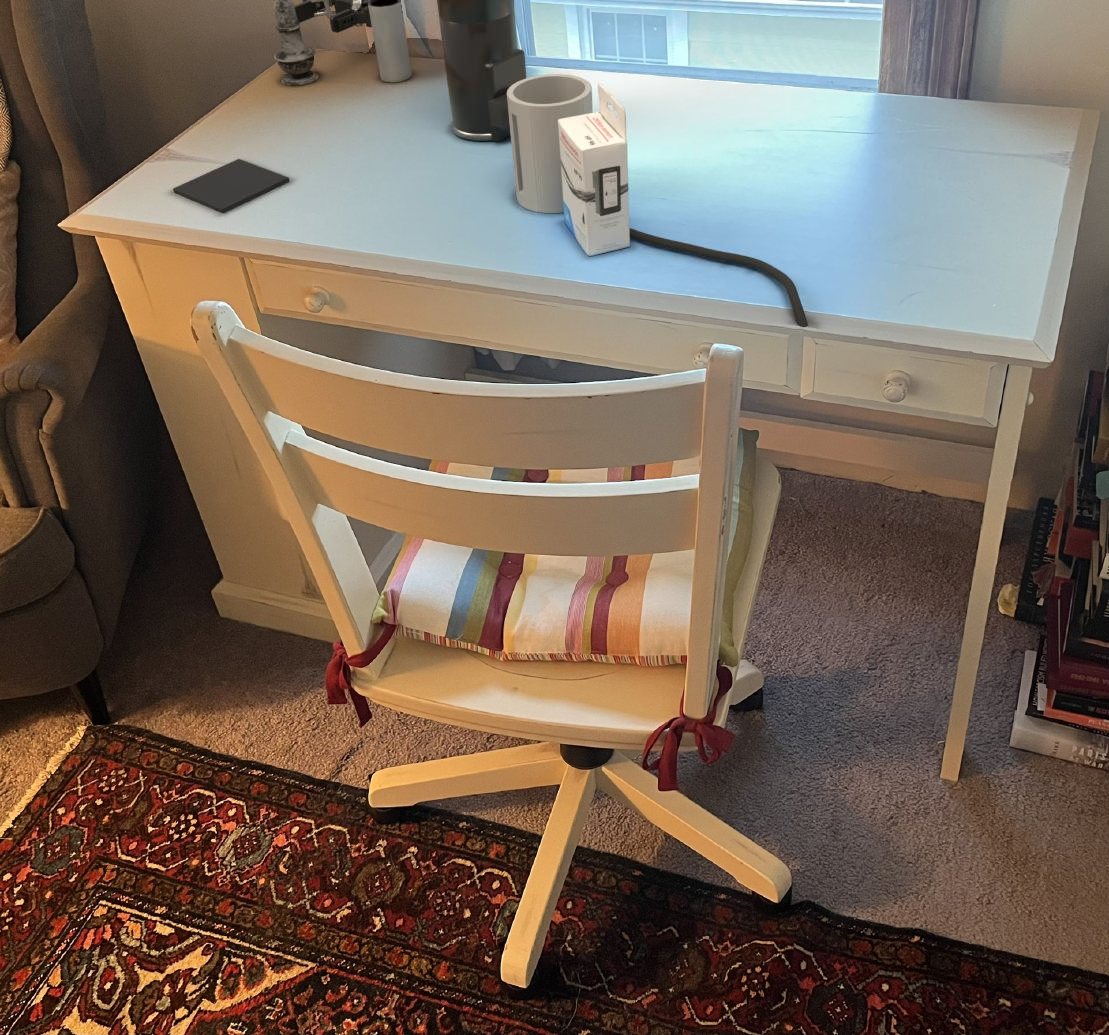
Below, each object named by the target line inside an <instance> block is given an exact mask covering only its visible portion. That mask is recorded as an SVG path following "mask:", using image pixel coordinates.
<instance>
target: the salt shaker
mask: <svg viewBox="0 0 1109 1035" xmlns="http://www.w3.org/2000/svg"><path fill="white" fill-rule="evenodd" d="M273 9H274V14H275V19H276V23H277V25H276V26H275V30H276V31H277V32H278V34H279V38H280V43H281V44H280V45H281V46H280V50H279V51H277V52H276V53H275V54H274V56H273V58H274V60H275V61H277V62H276V63H277V65H278V67H279V69H280V70H282V71H283V72H284V73H286V75H284V77H283V78H282V79H281V83H282V84H283V85H285V86H288V87H289V86H290V87H300V86H305V85H310V84H312V83H314V82H316V81H317V80H318V79H319V75H318V73H316V72H314V71H313V70H311V69H312V67H314V64H315V54H316V50H315V49H314V48H313V47H310V46H306V44H305V42H304V40H303V37H302V32H301V27H302V22H301V23H299V22H298V20H297V15H296V11H295V3H294V1H293V0H275V2H274V3H273Z"/></svg>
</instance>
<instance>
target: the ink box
mask: <svg viewBox="0 0 1109 1035" xmlns="http://www.w3.org/2000/svg"><path fill="white" fill-rule="evenodd" d="M597 93H598V106H599V111H596V112H593V113H589V114H584V115H579V116H572V117H567V118H562V119H559V120H558V128H559V143H560V156H561V172H562V188H563V204H564V212H563V217H564V224H565V225H566V226H567V228H568V229H569V231H570V232H571V234H572V235H573V236H574V238H575V240H576V241H577V242H578V244H579V245H580V246H581V248H582V250H583V251H584V253H585V254H586V255H587V256H588V257H592V256H596V255H600V254H605V253H608V252H613V251H617V250H621V249H625V248H629V247H631V239H630V235H629V228H630V202H629V199H630V197H629V164H628V163H629V161H628V159H629V158H628V140H627V114H626V109H625V108H624V107H623V106H622V104H620V103H619V101H618V100H617V99H616V98H615V97H614V96H613V94H611V92H609V91H608V90H607V89H606V88H605V87H604V86H603V85H602V84H601V83H600V82H598V83H597ZM610 105H611V107H612V109H613V111H614V112H615V114H614V113H613V112H612V111H611V110H610V108H609V106H610Z"/></svg>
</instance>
